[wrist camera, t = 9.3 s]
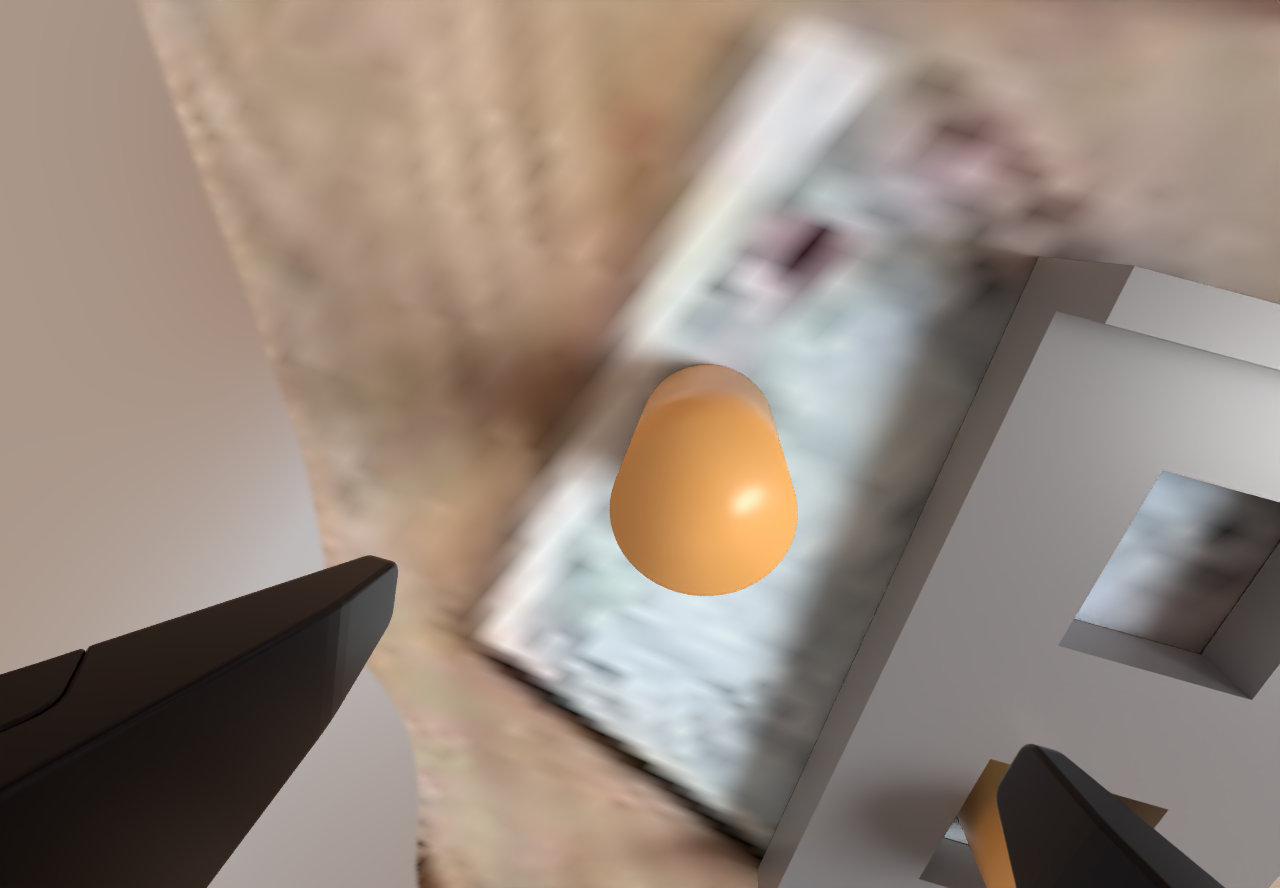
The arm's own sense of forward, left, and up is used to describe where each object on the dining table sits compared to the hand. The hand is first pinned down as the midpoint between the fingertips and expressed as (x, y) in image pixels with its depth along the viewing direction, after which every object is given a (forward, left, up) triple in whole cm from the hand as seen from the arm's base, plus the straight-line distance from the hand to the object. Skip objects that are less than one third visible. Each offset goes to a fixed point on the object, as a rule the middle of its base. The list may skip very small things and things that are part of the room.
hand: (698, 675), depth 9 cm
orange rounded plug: (0, 0, -11) cm, 11 cm away
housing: (-5, -14, -11) cm, 18 cm away
